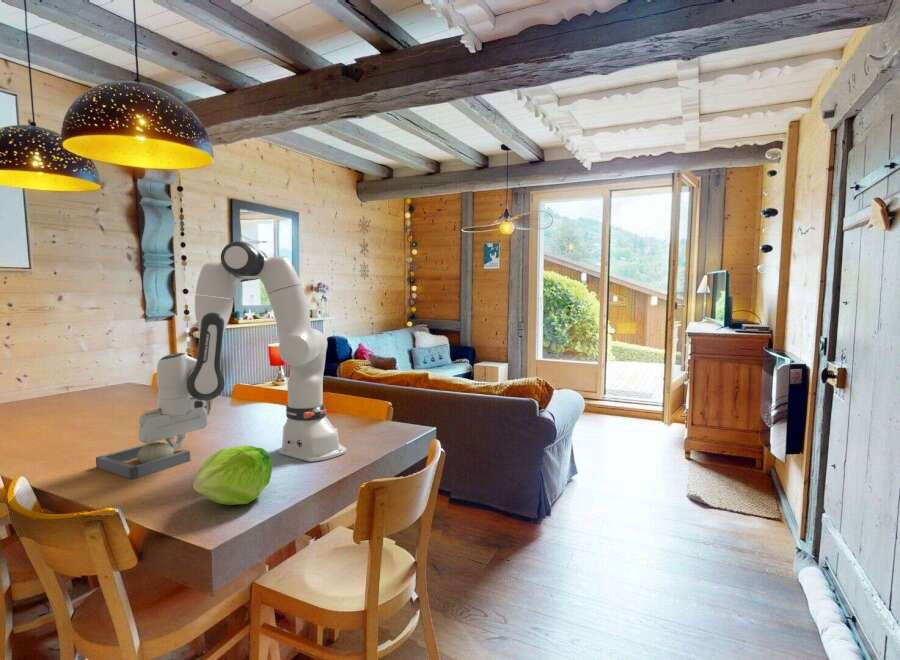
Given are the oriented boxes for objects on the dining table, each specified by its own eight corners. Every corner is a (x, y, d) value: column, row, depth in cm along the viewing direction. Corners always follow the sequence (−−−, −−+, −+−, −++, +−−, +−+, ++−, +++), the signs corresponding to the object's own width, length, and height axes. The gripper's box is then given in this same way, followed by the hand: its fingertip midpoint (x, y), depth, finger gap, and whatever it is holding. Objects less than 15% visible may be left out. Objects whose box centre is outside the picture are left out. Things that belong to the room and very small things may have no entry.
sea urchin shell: (167, 445, 150) (172, 431, 145) (173, 467, 146) (178, 454, 142) (132, 452, 143) (136, 437, 138) (137, 476, 139) (142, 461, 135)
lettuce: (175, 516, 108) (173, 455, 110) (249, 497, 125) (246, 444, 128) (217, 514, 101) (214, 449, 103) (289, 494, 119) (285, 439, 121)
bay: (154, 450, 150) (153, 441, 150) (190, 460, 142) (189, 450, 142) (96, 467, 136) (95, 457, 136) (132, 479, 128) (132, 468, 127)
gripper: (145, 414, 136) (147, 461, 137) (210, 400, 154) (211, 441, 155) (133, 411, 139) (134, 457, 140) (197, 398, 157) (199, 438, 158)
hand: (175, 449), depth 148 cm, fingers closed
